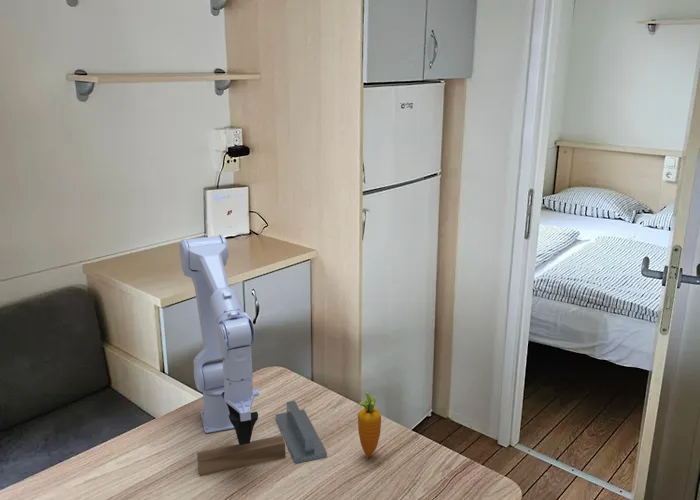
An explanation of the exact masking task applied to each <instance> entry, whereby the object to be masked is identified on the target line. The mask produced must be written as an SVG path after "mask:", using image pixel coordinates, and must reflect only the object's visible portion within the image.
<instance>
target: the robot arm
mask: <svg viewBox="0 0 700 500" xmlns="http://www.w3.org/2000/svg"><path fill="white" fill-rule="evenodd" d="M179 256H180V263H181V269H182V272H183V276H185V277H187V278H191V280H192V283H193V287H194V292H195V299H196V305H197V310H198V311H197V312H198V319H199V325H200V326H199V327H200V331H201V332H200V333H201V339H202V344H203V345H202V346H203V348H202V349H201V350H200V351H199V352H198V353H197V355H196V356H195V357H194V358H193V361H192V362H193V364H192V365H193V378H194V383H195V387H196V389H197V391H198V392H200V393H202V401H203V402H202V403H203V404H202V405H203V410H200V417H201V420H202V424H203V425H202V426H203V429H204V433H205V434H210V433H215V432H219V431H221V432H222V431H225V430H226V431H227V430H231V429H232V430H233V429H235V434H236V439H237V442H238V444H239V445H244V444H249V443H250V441H251V439H252V434H253V430H254V427H255V424H256V422H257V421H258V420H259V414H258V411H253V412H251V411H252V409H251V408H252V406H253V403H254V398H255V397H259V396H260V391H259V389H257V388H254V386H253V385H254V383H253V382H254V381H253V362H252V360H253V359H252V345H255V343H256V342H255V341H256V333H255V325H254V323H253V320H252V318H251V317H250V316H249V315H248V312H245V311H244V310H243V307H242V304H241V301H240V298H239V296H238V292H237V291H236V290H234V289H233V288H230V286H229V282H228V278H227V273H226V269H225V266H226V265H227V261H228V259H229V246H228V242H227V239H226V237H224V235H223V234H219V235H214V236H204V237H196V238H188V239H186V238H183V239H181V241H180V242H179ZM209 361H210V362H209Z"/></svg>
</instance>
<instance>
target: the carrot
mask: <svg viewBox="0 0 700 500" xmlns="http://www.w3.org/2000/svg"><path fill="white" fill-rule="evenodd" d="M365 397H366V400H363V402H362V401H361V402H359V406H362V407H363V408H362V409H361V410H360V411H358V413H357V427H358V430H357V431H358V437H359V441H360V444H361V448H362V450H363V452H364V454H365V456H366V457H367V458H371V457H372V456H373V454H374V452H375V451H376V449H377V446H378V444H379V440H380V437H381V436H380V435H381V429H382V414H381V412H380V411H379V409H377V408H375V406H376V400H377V398H376V396H371V394H370V392H368V391H367V392H365Z"/></svg>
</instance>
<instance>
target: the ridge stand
mask: <svg viewBox="0 0 700 500" xmlns="http://www.w3.org/2000/svg"><path fill="white" fill-rule="evenodd" d="M275 421H276V423H277V425H278V428H279V431H280V432H281V434H282V438H283V440H284V442H285V445H286V446H287V448H288V450H289V452H290V454H291V457H292V459H293V461H294V464H296V465H297V464H300V463H305V462H309V461H314V460H320V459H324V458H327V457H328V452H327V450H326V448H325V446H324V444H323V442H322V440H321V438H320V437H319V435H318V433H317V431H316V429H315V427H314V425H313V423H312V422H311V420H310V418H309V416H308V414H307V412H306V411H305V409H304V408H303V409H300V408H299V407H298V404H297V402H296V401H295V400H290V401H286V412H283V413H281V412H280V413H276V414H275Z"/></svg>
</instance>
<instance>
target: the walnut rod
mask: <svg viewBox="0 0 700 500" xmlns="http://www.w3.org/2000/svg"><path fill="white" fill-rule="evenodd" d="M196 456H197V457H196V458H197V468H198V472H199V477H204V476H208V475H213V474H217V473H222V472H227V471H231V470H236V469H241V468H245V467H250V466H254V465H259V464H262V463H268V462H272V461H278V460H281V459H286V441H285V439H284V437H283V435H280V434H279V435H276V436H271V437H265V438H260V439H257V440H252V441H251V440H250V443H249V444H244V445H239V443H236V444H232V445H227V446H223V447H222V446H221V447H218V448H212V449H208V450H202V451H197V452H196Z"/></svg>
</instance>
